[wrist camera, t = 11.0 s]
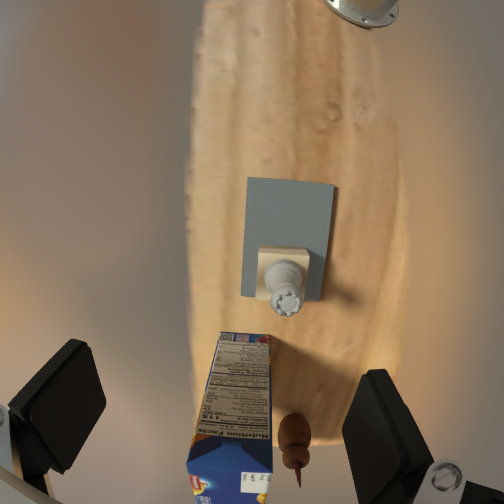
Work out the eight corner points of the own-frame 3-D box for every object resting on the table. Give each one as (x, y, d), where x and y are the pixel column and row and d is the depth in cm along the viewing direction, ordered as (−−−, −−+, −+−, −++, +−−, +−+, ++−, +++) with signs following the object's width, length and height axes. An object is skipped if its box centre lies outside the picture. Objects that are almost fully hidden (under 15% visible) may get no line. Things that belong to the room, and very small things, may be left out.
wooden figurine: (303, 430, 48) (310, 490, 33) (275, 429, 48) (276, 491, 33) (311, 409, 46) (321, 473, 32) (280, 408, 46) (283, 474, 32)
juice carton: (264, 390, 45) (262, 513, 22) (221, 387, 45) (198, 507, 22) (269, 333, 42) (272, 471, 19) (220, 330, 42) (186, 463, 19)
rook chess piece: (302, 257, 33) (313, 282, 26) (300, 292, 34) (309, 325, 27) (264, 257, 33) (264, 282, 26) (263, 292, 35) (263, 325, 27)
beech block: (259, 244, 37) (258, 252, 33) (304, 247, 37) (309, 256, 33) (256, 287, 39) (255, 299, 35) (299, 289, 39) (303, 302, 35)
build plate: (248, 177, 36) (247, 177, 35) (332, 184, 36) (334, 184, 35) (241, 293, 40) (240, 295, 39) (318, 297, 40) (319, 300, 39)
